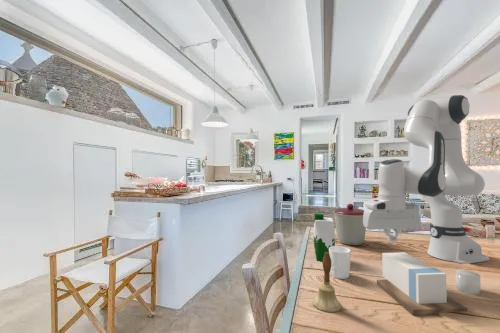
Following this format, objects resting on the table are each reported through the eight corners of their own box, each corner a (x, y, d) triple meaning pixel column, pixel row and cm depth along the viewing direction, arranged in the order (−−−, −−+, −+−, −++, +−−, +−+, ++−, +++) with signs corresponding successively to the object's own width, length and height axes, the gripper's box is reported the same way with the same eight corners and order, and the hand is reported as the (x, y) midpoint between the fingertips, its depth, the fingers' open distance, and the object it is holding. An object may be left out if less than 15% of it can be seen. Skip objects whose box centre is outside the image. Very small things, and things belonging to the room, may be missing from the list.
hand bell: (333, 296, 79) (332, 247, 79) (346, 311, 71) (345, 256, 71) (308, 298, 78) (308, 248, 78) (319, 313, 70) (318, 258, 70)
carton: (404, 252, 90) (446, 273, 72) (405, 275, 90) (446, 302, 72) (382, 252, 89) (418, 274, 71) (382, 276, 89) (418, 304, 71)
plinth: (420, 282, 87) (420, 278, 87) (467, 312, 69) (467, 307, 69) (376, 284, 87) (376, 279, 87) (412, 315, 69) (412, 309, 69)
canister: (346, 249, 122) (345, 207, 122) (326, 238, 140) (326, 202, 140) (377, 246, 126) (376, 205, 126) (354, 236, 144) (353, 200, 144)
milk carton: (313, 254, 116) (313, 212, 116) (333, 255, 114) (332, 212, 114) (314, 261, 108) (314, 216, 108) (336, 262, 106) (335, 216, 106)
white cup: (348, 281, 89) (348, 254, 89) (326, 276, 93) (326, 250, 93) (352, 273, 95) (352, 247, 95) (331, 269, 100) (331, 244, 99)
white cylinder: (468, 286, 84) (468, 269, 84) (485, 296, 78) (485, 277, 78) (451, 287, 84) (451, 269, 84) (467, 296, 78) (467, 277, 78)
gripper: (412, 201, 94) (413, 237, 94) (360, 202, 93) (361, 238, 93) (425, 204, 87) (425, 242, 88) (369, 205, 87) (369, 244, 87)
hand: (391, 240), depth 90 cm, fingers closed
